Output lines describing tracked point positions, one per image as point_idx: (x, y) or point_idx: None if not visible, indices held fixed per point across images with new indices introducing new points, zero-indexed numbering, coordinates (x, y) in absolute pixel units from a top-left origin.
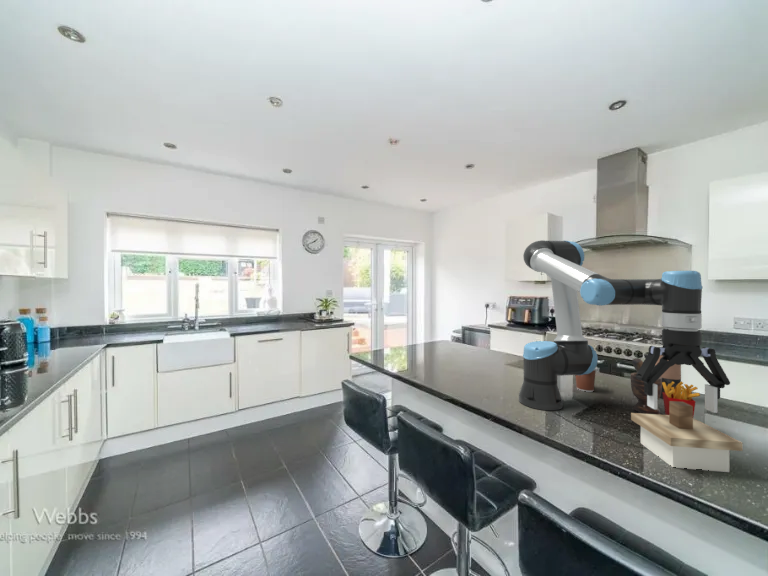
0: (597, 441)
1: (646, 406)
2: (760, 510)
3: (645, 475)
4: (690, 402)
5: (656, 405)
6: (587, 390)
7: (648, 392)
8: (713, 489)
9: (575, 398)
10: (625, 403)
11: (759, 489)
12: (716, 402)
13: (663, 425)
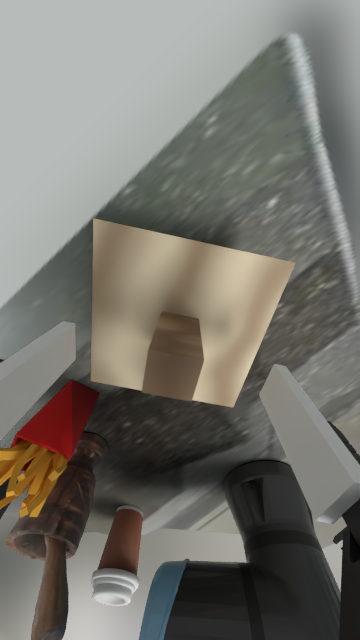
0: (294, 362)
1: (89, 453)
2: (227, 87)
3: (335, 239)
4: (29, 434)
5: (284, 375)
6: (132, 509)
7: (342, 437)
8: (243, 178)
9: (177, 490)
10: (101, 470)
11: (140, 174)
12: (33, 344)
13: (224, 338)
